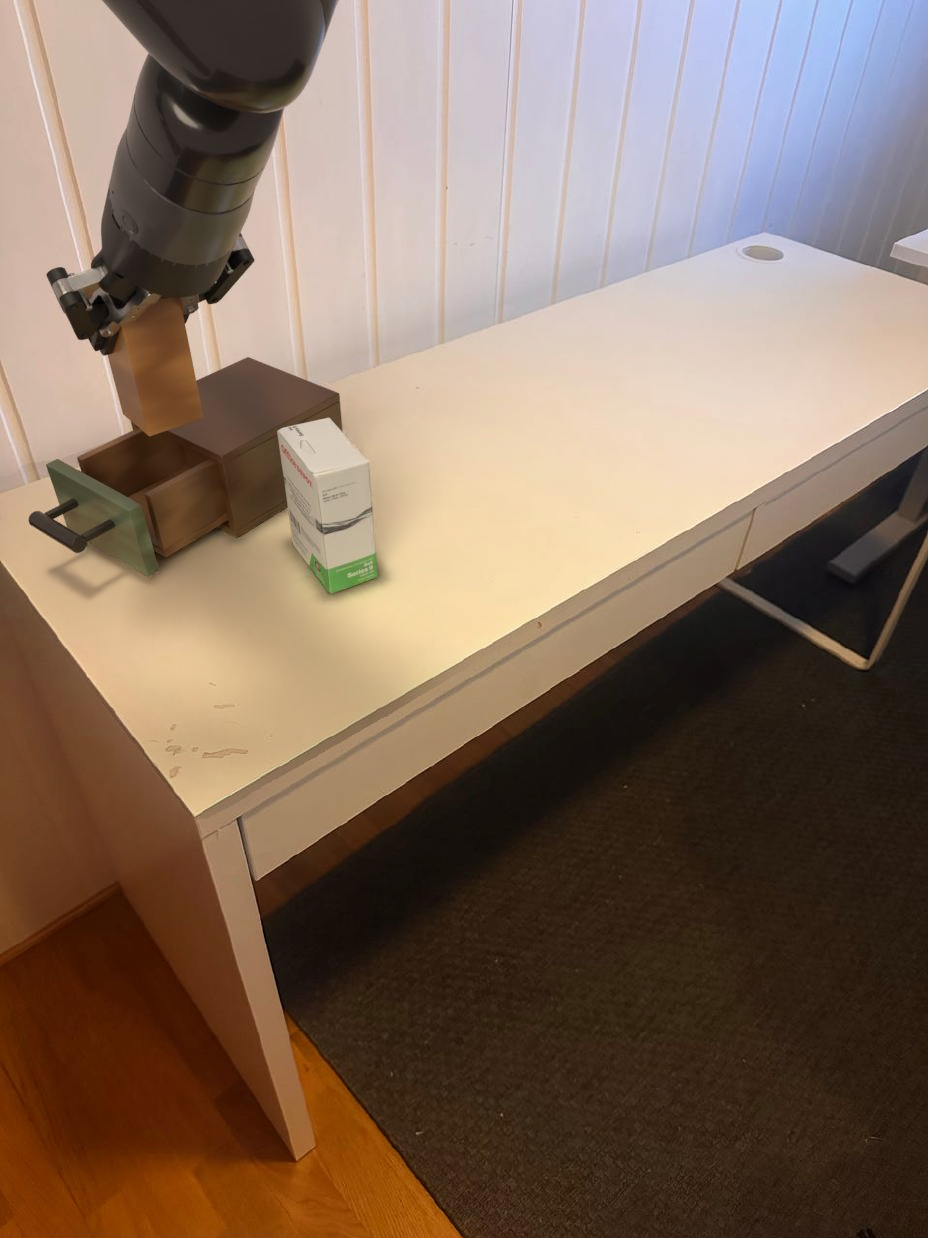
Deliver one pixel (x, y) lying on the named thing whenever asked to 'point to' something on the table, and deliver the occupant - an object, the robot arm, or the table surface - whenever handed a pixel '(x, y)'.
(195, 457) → the drawer
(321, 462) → the ink box
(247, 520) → the cabinet
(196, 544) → the table surface
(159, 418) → the brown wooden block
